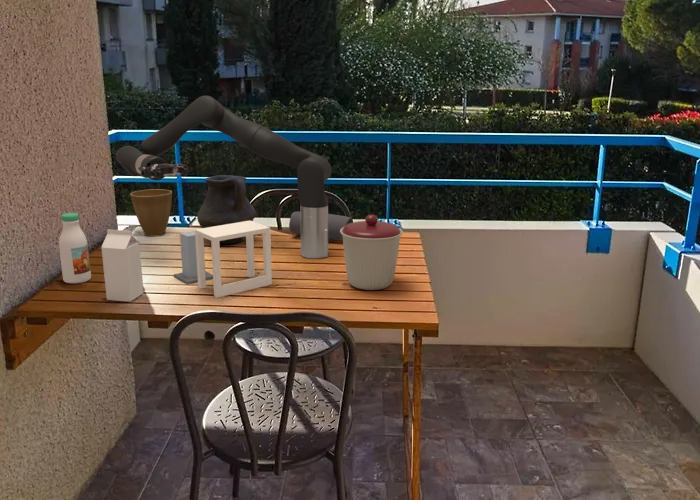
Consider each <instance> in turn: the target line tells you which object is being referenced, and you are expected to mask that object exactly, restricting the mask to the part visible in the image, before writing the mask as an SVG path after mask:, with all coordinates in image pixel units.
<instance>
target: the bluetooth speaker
mask: <svg viewBox="0 0 700 500" xmlns="http://www.w3.org/2000/svg"><path fill="white" fill-rule="evenodd" d="M350 223H354V219H353V217H349V216H346V215H339V214H332V213H328V242H329V241H333V242H335V241H336V240H337V241H343V237H342V234H341V233H340V229H341V228H343V227H345V226H346V225H348V224H350ZM288 229H289V231H290V232H291V233H292V234H295V235H299V236H301V219H300V211H293V212H292V213H291V215H290V219H289V223H288ZM334 240H335V241H334Z"/></svg>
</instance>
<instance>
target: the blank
mask: <svg viewBox="0 0 700 500" xmlns="http://www.w3.org/2000/svg"><path fill="white" fill-rule="evenodd" d="M204 239H205V238H203V244H204V245H205V243H204ZM179 241H180V242H179V243H180V255H181V269H182V272H183V275H184V276H186V277H188V278H190V279H192V278H196V277H198V274H197V257H196V241H195V230H190V231H185V232H179ZM205 257H206V256H204V262H205V263H206V260H205ZM182 272H181V273H182ZM205 276H206V274H205Z"/></svg>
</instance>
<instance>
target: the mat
mask: <svg viewBox="0 0 700 500" xmlns="http://www.w3.org/2000/svg"><path fill="white" fill-rule="evenodd" d="M205 274H206V276H205V279H206V281H209V280H213V273H211V272H208V271H206V270H205ZM173 277H174V278H176V279H177V280H179V281H180V282H182V283H184V284H185V285H188V286H189V285H190V284H196V283H197V284H198V277H196V278H192V279H190V278H188V277H186V276H184V275H183V272H179V273H174V274H173Z"/></svg>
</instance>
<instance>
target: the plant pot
mask: <svg viewBox="0 0 700 500" xmlns="http://www.w3.org/2000/svg"><path fill="white" fill-rule="evenodd" d="M130 199H131V202H132V206H133V207H132V208H133V209H134V210H133V211H134V212H135V213H134V214H135V215H136V218H137V221H138V224H139V226H140V227H141V228H140V229H142V232H143V234H144V236H147V237H158V236H163V235H165V234H166V231H167V228H168V224H169V220H170V215H171V208H172V201H173V200H172V199H173V191H172V190H170V189H163V188H162V189H161V188H160V189H157V188H156V189H154V188H153V189H143V190H142V189H141V190H137V191H132V192H131V193H130Z"/></svg>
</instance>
